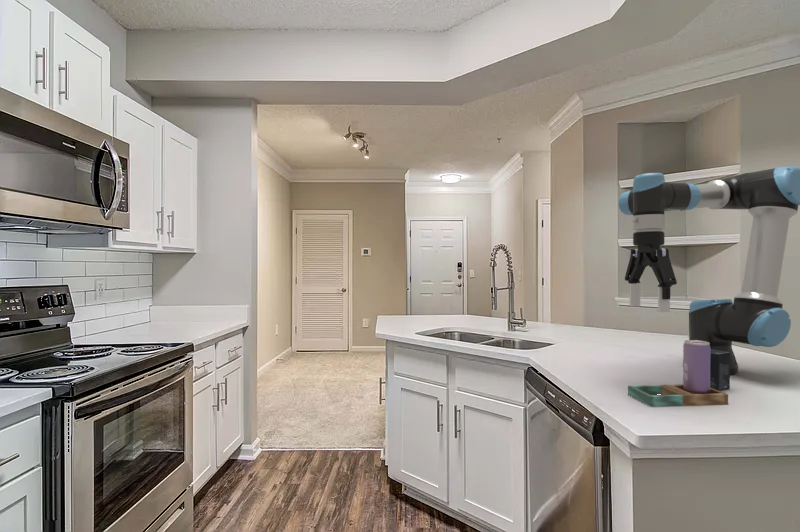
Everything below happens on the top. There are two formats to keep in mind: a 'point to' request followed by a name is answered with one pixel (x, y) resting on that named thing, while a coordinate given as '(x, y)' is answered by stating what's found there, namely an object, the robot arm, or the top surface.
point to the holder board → (675, 396)
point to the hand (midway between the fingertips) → (648, 309)
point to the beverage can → (696, 366)
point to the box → (720, 370)
